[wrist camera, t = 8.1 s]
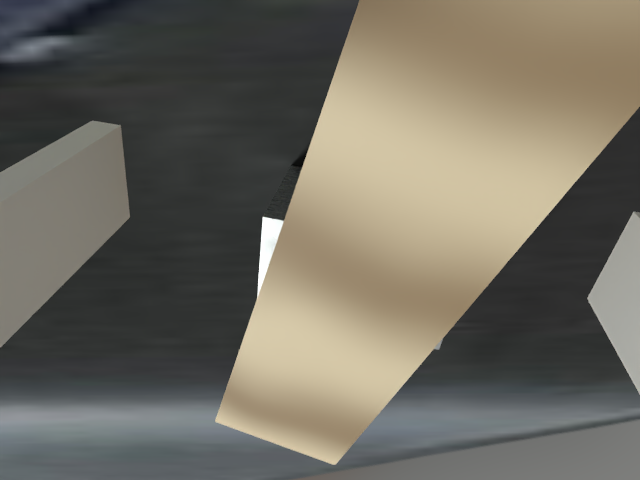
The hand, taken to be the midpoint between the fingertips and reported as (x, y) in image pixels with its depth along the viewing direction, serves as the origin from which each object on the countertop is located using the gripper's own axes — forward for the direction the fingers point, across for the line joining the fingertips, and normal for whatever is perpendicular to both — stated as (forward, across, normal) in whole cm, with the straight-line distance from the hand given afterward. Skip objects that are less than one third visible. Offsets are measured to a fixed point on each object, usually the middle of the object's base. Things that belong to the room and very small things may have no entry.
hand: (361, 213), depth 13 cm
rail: (+7, +1, 0) cm, 7 cm away
